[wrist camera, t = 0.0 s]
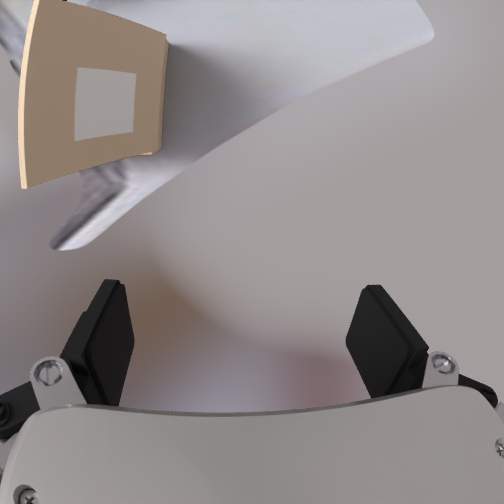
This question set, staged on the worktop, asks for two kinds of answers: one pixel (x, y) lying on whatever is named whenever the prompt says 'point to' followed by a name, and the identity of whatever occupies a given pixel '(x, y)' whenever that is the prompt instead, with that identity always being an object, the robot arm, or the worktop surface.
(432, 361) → the robot arm
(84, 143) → the lid
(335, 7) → the worktop surface
